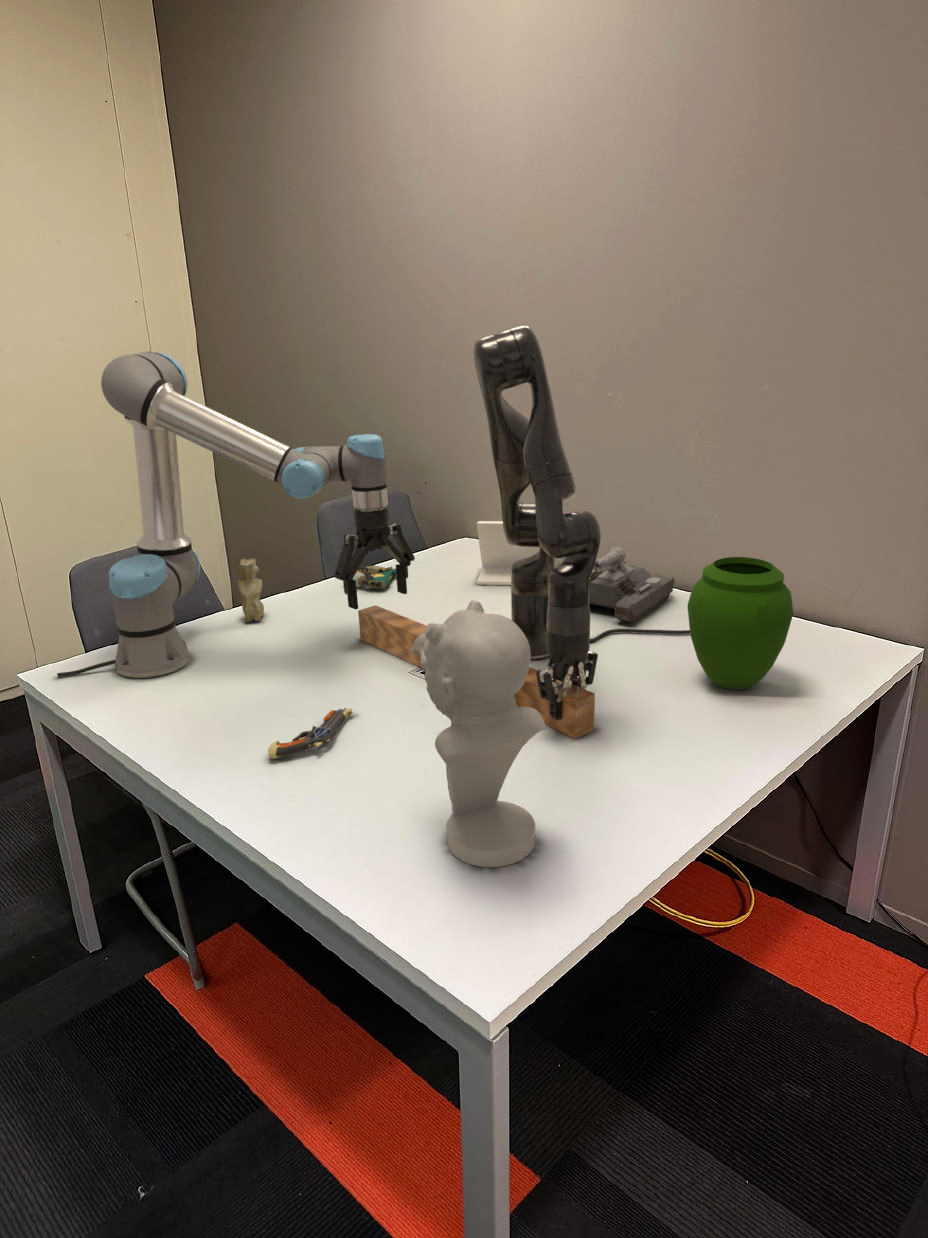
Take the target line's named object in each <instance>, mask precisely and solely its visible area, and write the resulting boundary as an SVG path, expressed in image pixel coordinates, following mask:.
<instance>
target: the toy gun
mask: <svg viewBox="0 0 928 1238" xmlns="http://www.w3.org/2000/svg"><path fill="white" fill-rule="evenodd" d="M353 713H354V712H353V708H346V707H344V708H343V709H342V708H339V709H332V710H330V711H329V712H328V713H327V714H326V715H325V716H324V718H323V723H322V724H321V725H319V726H316V725H312V729H310V730H305V731H301V732H300V733H299V734H298V735H297V736H296V737H294V738H292V741H288V742H280V741H279V740H275V741H274V742H273V743H271V744H270V745H269V746H268V749H267V751H268V756H269V759H271V760H274V759H278V758H283V757H285V756H290V755H293V754H297V753H300V752H304V751H307V750H309V749H312V748H319V747H321V746H323V745H324V744H325V743H328V742H329V741H331V739H332V738H333V737H334V736H335V734H336V732H337V730H338V728H339V727H341V725H342V723H343V722H344V721H345V720H346V719H347V718H348V717H349V716H352V715H353Z"/></svg>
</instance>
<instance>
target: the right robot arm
mask: <svg viewBox="0 0 928 1238" xmlns="http://www.w3.org/2000/svg"><path fill="white" fill-rule="evenodd" d="M473 361H474V362H473V363H474V367H475V372H476V376H477V380H478V384H479V389H480V392H481V396H482V400H483V405H484V409H485V412H486V413H485V414H486V419H487V426H488V432H489V437H490V438H489V439H490V446H491V447H490V448H491V453H492V460H493V464H494V469H495V473H496V478H497V483H498V489H499V496H500V505H501V521H503V530H504V535H505V538H506V541H507V542H508V543H509V544H510V545H513V546H520V547H539V552H537V553H536V554H534V555H532V556H530V557H527V558H524V559H521V560H518V561H516V562H515V563H513V565H512V567H511V585H510V588H511V589H510V597H511V599H510V603H511V604H510V606H511V607H510V609H511V610H510V615H511V617H510V619H511V620H512V621H513V622H514V623H515V624H516V625H517V626H518V627H519V628H520V629H521V630H522V632H523V633H524V634H525V636H526V638H527V640H528V643H529V646H530V652H531V653H530V655H531V656H530V660H540V659H545V658H548V657H549V661H548V665H547V667H546V668H544V669H543V670H542V669H536V670H537V672H536V676H537V681H538V686H539V691H540V696H541V698H542V699H545V700H548V701H549V702H550V716H551V717H552V718H554V719H556V720H561V719H562V697H563V693H564V690H566V689H567V687H568V683H570V684H573V685H575V686H578V687H580V688H583V689H585V690H587V687H588V686H591V685H592V684H593V683H594V679H595V674H596V667H597V663H598V658H599V654H598V653H596V652H593V651H591V650H590V648H591V647H590V646H591V645H590V643H595V642H597V641H599V640H601V639H603V638H604V637H605V636H607V635H610V634H615V633H639V634H665V635H667V634H668V635H687V634H688V635H690V629H686V630H683V629H681V630H680V629H679V630H677V629H676V630H671V629H668V630H667V629H643V628H642V629H641V628H613V629H608V630H606V631H603V632H602V633H599V634H598V635H597V636H595V637H593V638H591V608H590V604H589V588H590V577H591V574H592V571H593V568H594V564H595V560H596V559H597V557H598V553H599V550H600V547H601V537H602V535H601V533H602V532H601V527H600V523H599V521H598V519H597V518H596V516H595V515H594V514H593V513H592V512H590V511H588V510H585V509H584V510H576V511H571V512H567V513H564V501H565V500H567V499H569V498H570V497H572V496H573V495H574V493H575V492H576V483H575V480H574V479H575V478H574V476H573V473H572V470H571V467H570V464H569V462H568V461H569V460H568V458H567V455H566V453H565V450H564V449H565V448H564V446H563V443H562V439H561V435H560V432H559V426H558V421H557V416H556V410H555V406H554V400H553V396H552V391H551V386H550V382H549V378H548V373H547V369H546V364H545V360H544V356H543V352H542V349H541V346H540V343H539V340H538V338H537V335H536V334H535V332H534V331H533V329H532V328H531V327H529V326H527V325H520V326H516V327H512V328H510V329H506V330H504V331H500V332H497V333H494V334H490V335H486V336H484V337H482V338H480V339H478V340H477V341H475V343H474V346H473ZM525 384H528V385H529V387H530V391H531V411H530V417H529V419H528V418H527V417H526V416H525V415H523V414H522V413H521V412H520V411H518V410H517V409H515V408H514V407H513V406H512V405H511V403H509V402H508V401H507V400H506V398H505V397H504V395H502V393H503V392H504V391H505V390H509V389H513V388H516V387H518V386H522V385H525ZM529 486H531V489H532V493H533V494H534V495H533V496H534V502H528V501H527V502H521V501H520V499H521V497H522V495H523V494H524V492H525V491H526V490H527V489H528V488H529ZM563 557H565V559H564V561H563V562H562V564H560V565H559V566H557V567H556V568H554V558H563ZM587 671H588V673H587ZM586 674H587V676H586ZM556 680H558V681H561V682H562V684H560V683H558V682H556ZM556 688H557V689H558V692H557V694H555V689H556Z"/></svg>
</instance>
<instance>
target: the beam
mask: <svg viewBox="0 0 928 1238" xmlns="http://www.w3.org/2000/svg"><path fill="white" fill-rule="evenodd" d="M357 613H358V614H357V615H358V624H359V625H358V626H359V638H360V639H359V640H360V641H363V642H364V643H367V644H369V645H371V646H373V647H375V648H377V649H380V650H382V651H384V652H386V653H389V654H391V655H393V656H395V657H397V658H399V659H402V660H403V661H406V662H408V663H410V664H412V665H415V666H417V667H419V668H421V669H422V667H421V654H412V653H411V649H412V647H413V645H414V642H415V640H416V639H417V637H418V636H419V635H421V634H423V633H425V628H426V626H427V625H426V624H423V623H421V622H418V621H417V620H413V619H411V618H409V617H406V616H403V615H401V614H399V613H396V612H393V611H392V610H389V609H386V608H383V607H381V606H378V605H377V604H376V605H372V606H368V607H365V608H362V609H361V608H360V609H357ZM537 670H538V669H535V668H533V667H530V666H529V671H528V675H527V678H526V680H525V683H524V685H523V686H522V688H521V689H520V690H519V691H518V692H517V693H516V694H515V695H514V697H515V698H516V705H517V706H518V707H530V708H533V709H536V710H537V711H538V712H539V713H540V715H541V716H542V718H543V720H544V722H545V725H546V727H549V728H551V729H553V730H555V731H559V732H560V733H562V734H565V735H566V736H568V737H571V738H573V739H576V740H577V739H578V738H580V737H582V736H585V735H586V734H588V733H591V732H592V731H594V730H595V707H596V693H595V692H593V691H590V690H588V689H586V690H585V689H583V688H580V687H578V686H575V685H573V684H572V683H571V682H569V683H568V687H567V689H566V690H564V693H563V697H562V719H561V720H556V719H554V718H552V717H551V716H550V702H549V701H548V700H545V699H542V698H541V696H540V691H539V686H538V681H537V676H536V672H537ZM556 682H558V683H560V684H562V682H561V681H558V680H556ZM557 692H558V689H557V688H556V689H555V694H557Z"/></svg>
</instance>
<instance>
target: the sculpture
mask: <svg viewBox="0 0 928 1238" xmlns="http://www.w3.org/2000/svg"><path fill="white" fill-rule="evenodd" d="M239 565H240V566H239V567H238V568H237V572H238V574H240V575H241V576H242V579H240V580H238V582H237V585H238V591H239V596H241V597H242V603H241V608H242V612H243V614H244V619H245V622H246V623H247V622H252V621H253V620H254V622H258V621H260V620H261V617H262V616H263V615H264V613H265V606H264V604H263V601H261V593H262V590H263V580H262V579H260V578H257V577H256V576H257V575H258V574H259V572H260V568H259V566H257V563H256V558H250V559H245V558H241V559H240V561H239Z"/></svg>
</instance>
